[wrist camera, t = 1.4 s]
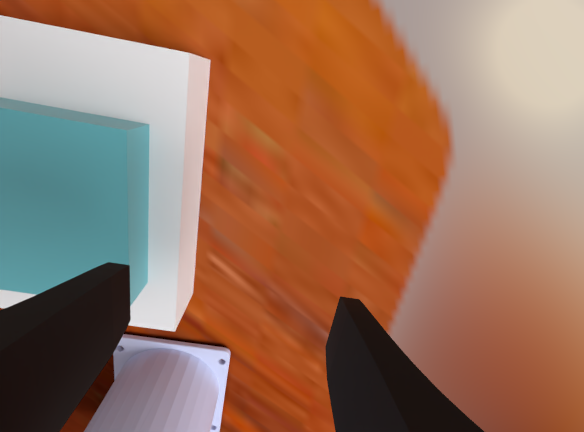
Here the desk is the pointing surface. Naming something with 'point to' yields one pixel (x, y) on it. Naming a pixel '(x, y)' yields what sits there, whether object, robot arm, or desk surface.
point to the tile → (70, 196)
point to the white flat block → (133, 107)
